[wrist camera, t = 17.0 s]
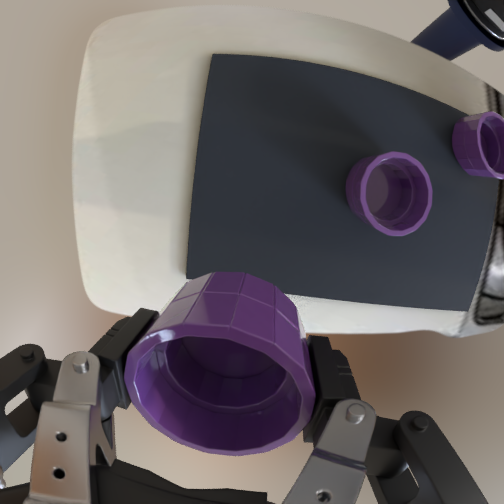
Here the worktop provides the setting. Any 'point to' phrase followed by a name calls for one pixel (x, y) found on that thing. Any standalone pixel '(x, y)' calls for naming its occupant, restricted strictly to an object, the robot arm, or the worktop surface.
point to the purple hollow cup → (390, 192)
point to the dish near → (224, 367)
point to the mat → (329, 186)
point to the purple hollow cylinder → (480, 144)
